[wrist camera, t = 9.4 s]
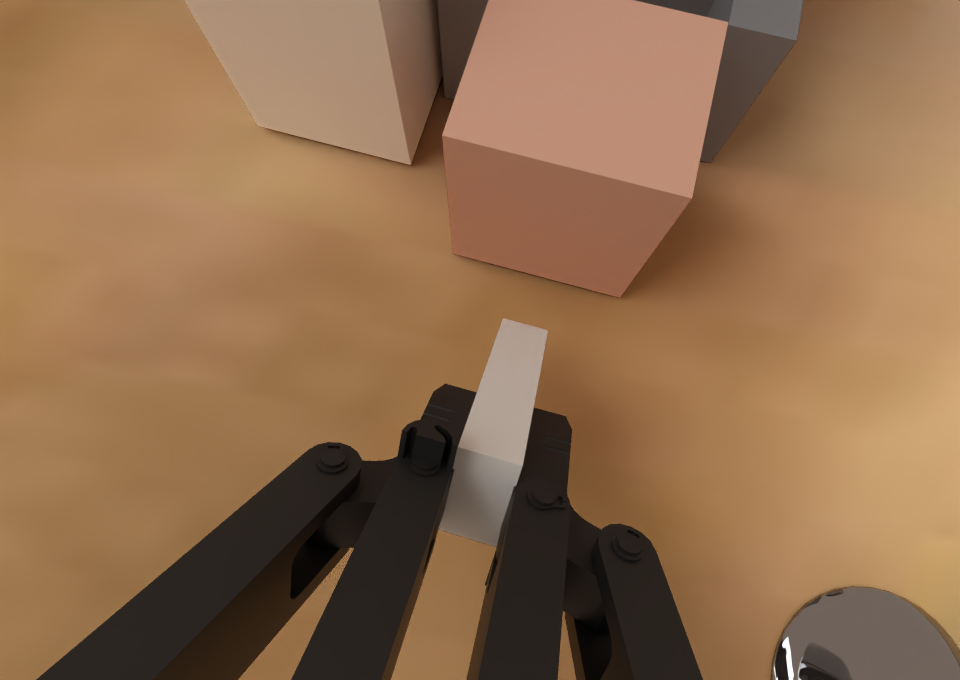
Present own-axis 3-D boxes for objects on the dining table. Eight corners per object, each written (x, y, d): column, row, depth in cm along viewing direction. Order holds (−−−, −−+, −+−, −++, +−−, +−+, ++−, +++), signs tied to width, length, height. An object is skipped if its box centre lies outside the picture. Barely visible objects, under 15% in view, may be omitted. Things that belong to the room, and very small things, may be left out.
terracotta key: (452, 253, 24) (441, 135, 16) (491, 131, 25) (499, -31, 17) (619, 297, 23) (692, 198, 15) (649, 170, 25) (728, 22, 17)
